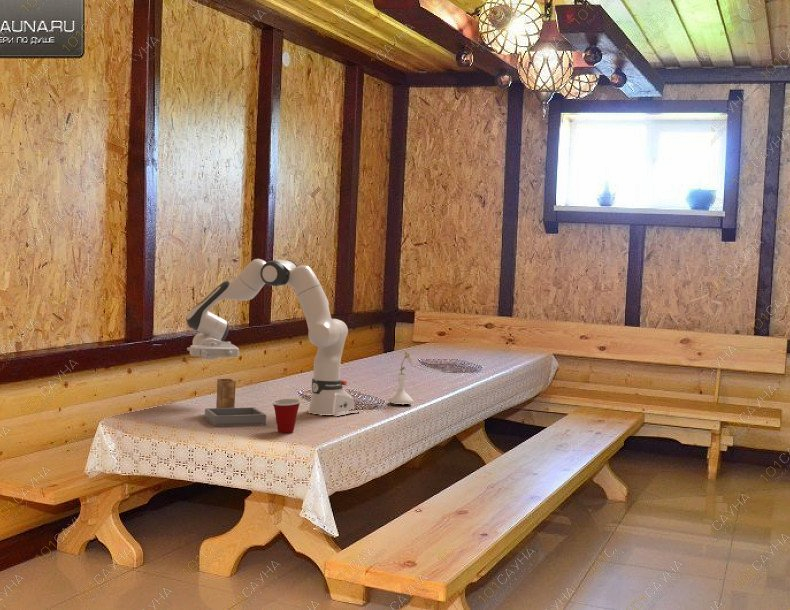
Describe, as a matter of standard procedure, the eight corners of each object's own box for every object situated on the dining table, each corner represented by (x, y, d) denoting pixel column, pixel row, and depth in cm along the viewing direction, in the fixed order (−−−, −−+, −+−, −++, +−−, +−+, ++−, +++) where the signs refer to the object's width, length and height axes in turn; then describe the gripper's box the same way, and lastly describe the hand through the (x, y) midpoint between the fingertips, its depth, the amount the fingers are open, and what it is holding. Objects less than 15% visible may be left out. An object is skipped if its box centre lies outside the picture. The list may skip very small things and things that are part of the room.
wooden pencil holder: (229, 412, 423) (231, 378, 422) (234, 416, 417) (235, 381, 415) (216, 413, 421) (217, 378, 420) (220, 416, 414) (221, 381, 413)
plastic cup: (267, 429, 394) (268, 398, 393) (295, 428, 398) (296, 397, 397) (274, 435, 384) (275, 403, 383) (302, 434, 388) (304, 402, 387)
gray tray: (254, 417, 416) (254, 407, 416) (265, 425, 402) (266, 414, 401) (204, 418, 408) (205, 408, 408) (214, 426, 394) (215, 416, 393)
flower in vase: (410, 407, 456) (413, 351, 454) (384, 405, 458) (387, 349, 456) (415, 403, 469) (418, 348, 467) (390, 400, 471) (393, 346, 469)
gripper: (186, 340, 435) (194, 346, 422) (233, 341, 444) (243, 347, 431) (185, 355, 435) (193, 361, 423) (232, 356, 444) (242, 362, 432)
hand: (219, 354), depth 427 cm, fingers open, 8 cm apart
